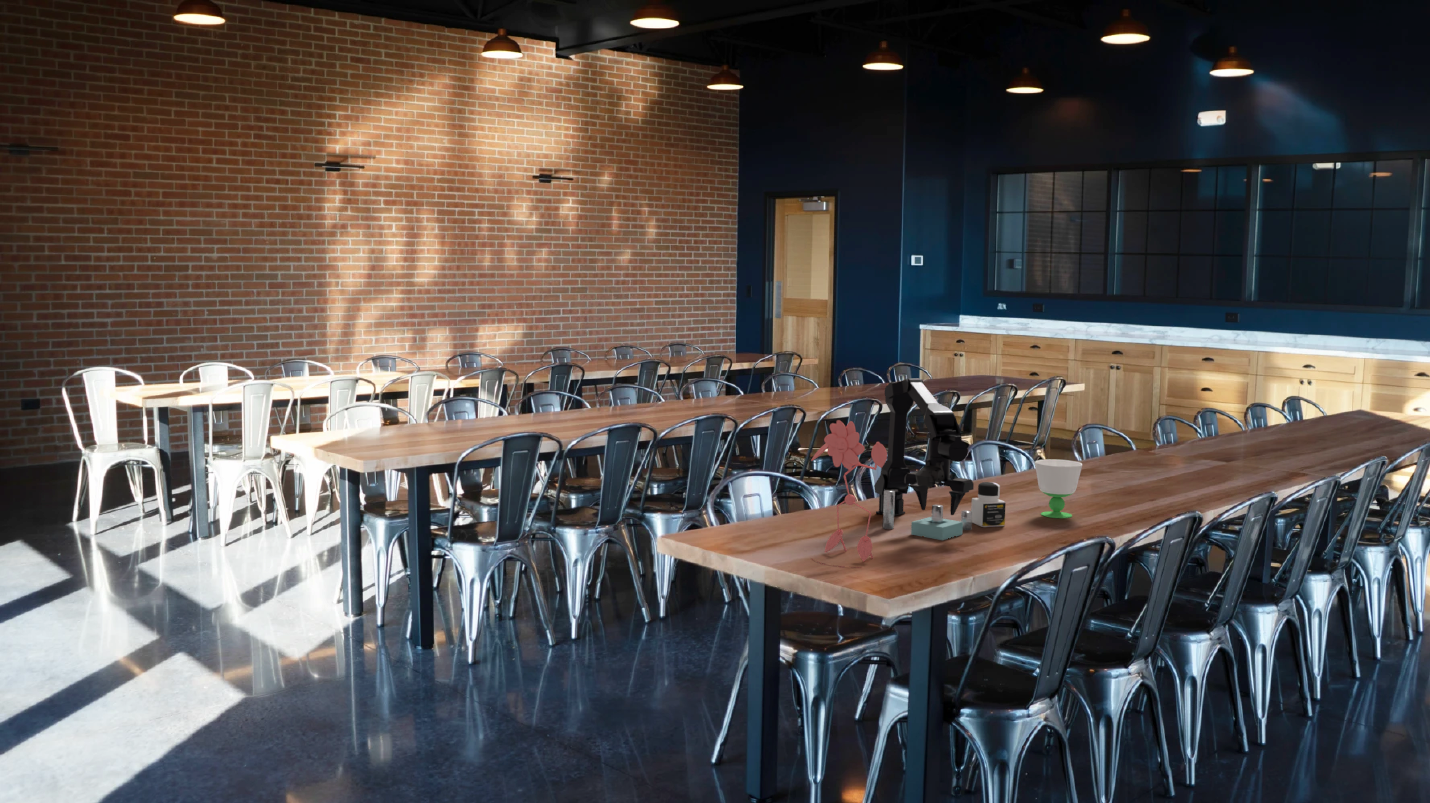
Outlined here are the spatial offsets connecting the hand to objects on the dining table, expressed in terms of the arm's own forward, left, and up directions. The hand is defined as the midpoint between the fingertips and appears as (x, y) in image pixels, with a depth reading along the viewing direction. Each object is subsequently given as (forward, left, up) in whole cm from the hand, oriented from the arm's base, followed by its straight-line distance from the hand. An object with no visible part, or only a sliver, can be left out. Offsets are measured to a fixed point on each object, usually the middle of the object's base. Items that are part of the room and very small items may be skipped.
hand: (937, 512), depth 316 cm
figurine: (-2, -41, -6) cm, 42 cm away
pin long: (-14, -3, -6) cm, 16 cm away
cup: (+11, +48, -6) cm, 50 cm away
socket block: (0, 0, -6) cm, 6 cm away
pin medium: (0, 0, -6) cm, 6 cm away
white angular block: (+3, +22, -6) cm, 23 cm away
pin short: (+2, +12, -6) cm, 14 cm away
